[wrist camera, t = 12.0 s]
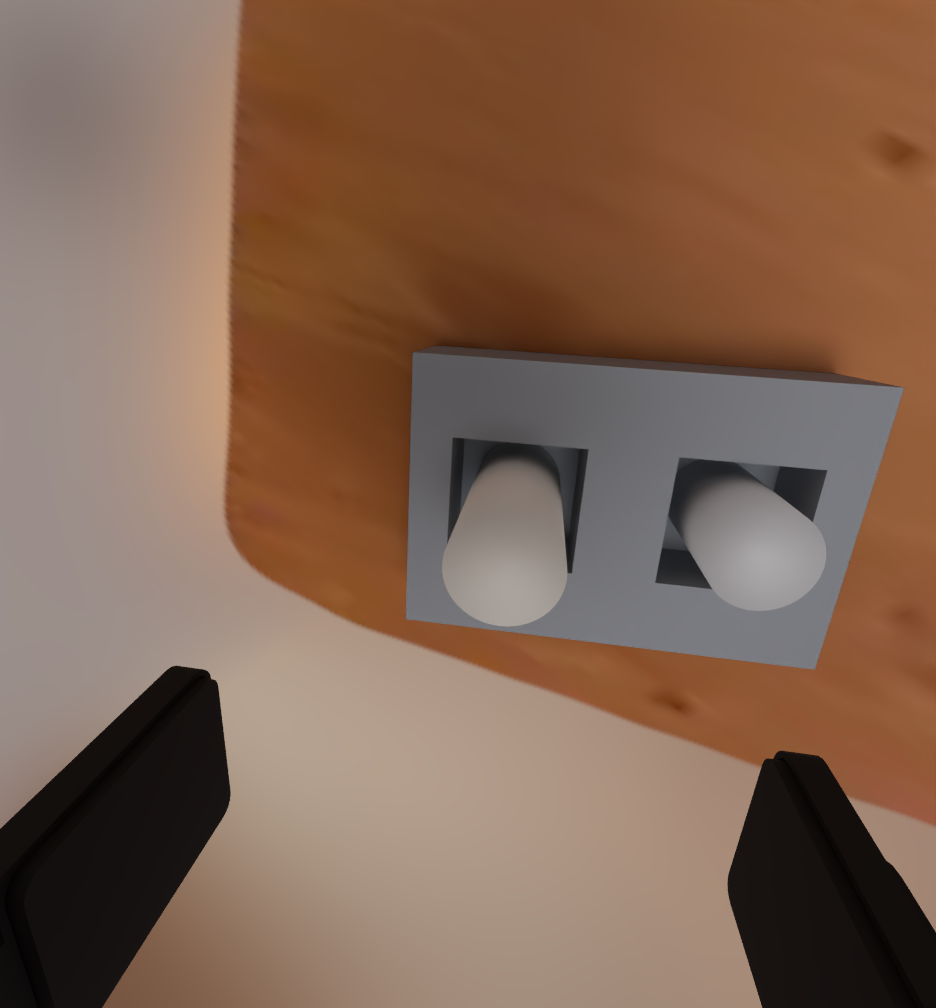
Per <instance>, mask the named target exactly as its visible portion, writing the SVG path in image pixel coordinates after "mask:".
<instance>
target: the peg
mask: <svg viewBox="0 0 936 1008" xmlns="http://www.w3.org/2000/svg"><path fill="white" fill-rule="evenodd" d="M442 575H443V580H444V583H445V586H446V589H447V591H448V593H449V595H450V596H451V598H452V599H453V601H454V602H455V603H456V604H457V605H458V606H459V607H460V608H461V609H462V610H463V611H464V612H466V613H467V614H468V615H470V616H471V617H473V618H475V619H477V620H479V621H481V622H484V623H487V624H491V625H496V626H505V627H508V626H519V625H524V624H527V623H530V622H533V621H535V620H537V619H539V618H541V617H542V616H544V615H545V614H547V613H548V612H549V611H550V610H551V609H552V608H553V607H554V606H555V605H556V604H557V602H558V601H559V600H560V598H561V596H562V594H563V592H564V589H565V586H566V582H567V560H566V547H565V535H564V523H563V510H562V498H561V486H560V474H559V470H558V467H557V464H556V462H555V461H554V459H553V458H552V456H551V455H550V454H549V453H548V452H547V451H546V450H545V449H543V448H542V447H540V446H539V445H533V444H522V443H511V442H505V443H503V444H500V445H499V446H497V447H495V448H494V449H492V450H491V451H490V452H489V453H488V454H487V455H486V457H485V458H484V459H483V461H482V463H481V465H480V468H479V470H478V472H477V475H476V477H475V480H474V482H473V484H472V487H471V489H470V491H469V494H468V496H467V499H466V501H465V503H464V506H463V508H462V510H461V513H460V515H459V518H458V520H457V522H456V525H455V527H454V529H453V532H452V534H451V537H450V539H449V541H448V544H447V546H446V548H445V551H444V555H443V560H442Z"/></svg>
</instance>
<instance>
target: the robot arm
mask: <svg viewBox="0 0 936 1008" xmlns="http://www.w3.org/2000/svg"><path fill="white" fill-rule="evenodd" d="M229 801H230V784H229V775H228V767H227V759H226V750H225V741H224V733H223V724H222V715H221V707H220V698H219V690H218V684H217V682H216V681H215V680H212V679H211V678H210V674H209V672H208V671H206V670H203V669H195V668H188V667H181V666H173V667H171V668H169V669H168V670H167V671H166V672H164V673H163V674H162V675H161V677H159V678H158V679H157V680H156V681H155V682H154V683H153V684H152V685H151V686H150V687H149V688H148V689H147V690H146V691H145V692H143V694H142V695H140V696H139V697H138V698H137V699H136V700H135V701H134V702H133V703H132V704H131V705H130V706H129V707H128V708H127V709H126V710H125V711H124V712H122V714H120V715H119V716H118V717H117V718H116V719H115V720H114V721H113V722H112V723H111V724H110V725H109V726H108V727H107V728H106V729H105V730H104V731H103V732H102V733H100V734H99V735H98V736H97V737H96V738H95V739H94V740H93V741H92V742H91V743H90V744H89V745H88V746H87V747H86V748H85V749H84V750H83V751H82V752H80V753H79V754H78V755H77V757H75V758H74V759H73V760H72V761H71V762H70V763H69V764H68V765H67V766H66V767H65V768H64V769H63V770H62V771H61V772H60V773H58V774H57V775H56V776H55V777H54V778H53V779H52V780H51V781H50V782H49V783H48V784H47V785H46V786H45V787H44V788H43V789H42V790H41V791H40V792H39V793H38V794H37V795H35V796H34V797H33V798H32V799H31V800H30V801H29V802H28V803H27V804H26V805H25V806H24V807H23V808H22V809H21V810H20V811H19V812H18V813H16V814H15V815H14V816H13V817H12V818H11V819H10V820H9V821H8V822H7V823H6V824H5V825H4V826H3V827H2V828H1V829H0V1008H102V1007H103V1005H104V1004H105V1002H106V1000H107V999H108V997H109V996H110V994H111V993H112V991H113V990H114V988H115V986H116V985H117V983H118V982H119V980H120V978H121V977H122V975H123V974H124V972H125V971H126V969H127V968H128V966H129V964H130V963H131V961H132V960H133V958H134V957H135V955H136V953H137V952H138V950H139V949H140V947H141V946H142V944H143V942H144V941H145V939H146V938H147V936H148V934H149V933H150V931H151V930H152V928H153V927H154V925H155V923H156V922H157V920H158V918H159V917H160V916H161V914H162V912H163V911H164V909H165V908H166V906H167V905H168V903H169V902H170V900H171V898H172V897H173V895H174V894H175V892H176V891H177V889H178V887H179V886H180V884H181V883H182V881H183V879H184V878H185V876H186V875H187V873H188V872H189V870H190V869H191V867H192V865H193V864H194V862H195V861H196V859H197V858H198V856H199V854H200V853H201V851H202V850H203V848H204V847H205V845H206V843H207V842H208V840H209V839H210V837H211V835H212V834H213V832H214V831H215V829H216V828H217V826H218V825H219V823H220V821H221V820H222V818H223V816H224V815H225V813H226V811H227V808H228V805H229ZM728 894H729V899H730V904H731V907H732V910H733V913H734V917H735V920H736V923H737V926H738V930H739V933H740V936H741V939H742V943H743V946H744V949H745V953H746V955H747V958H748V962H749V966H750V969H751V972H752V975H753V979H754V982H755V985H756V988H757V992H758V995H759V998H760V1001H761V1005H762V1008H936V932H935V930H934V929H933V927H932V926H931V924H930V922H929V921H928V919H927V918H926V916H925V914H924V913H923V911H922V910H921V908H920V906H919V905H918V903H917V901H916V900H915V898H914V897H913V895H912V893H911V892H910V890H909V889H908V887H907V885H906V884H905V882H904V881H903V879H902V877H901V876H900V875H899V873H898V872H897V871H896V869H895V868H894V867H893V866H892V865H891V864H890V863H888V862H887V861H886V860H885V858H884V857H883V855H882V854H881V852H880V850H879V849H878V847H877V845H876V844H875V842H874V841H873V839H872V837H871V836H870V834H869V832H868V831H867V829H866V828H865V826H864V824H863V823H862V821H861V819H860V818H859V816H858V814H857V813H856V811H855V810H854V808H853V806H852V805H851V803H850V801H849V800H848V798H847V796H846V795H845V793H844V791H843V790H842V788H841V787H840V785H839V783H838V782H837V780H836V778H835V777H834V775H833V774H832V772H831V770H830V769H829V767H828V765H827V764H826V763H825V761H824V760H823V759H822V758H821V757H819V756H815V755H808V754H801V753H794V752H787V751H779V752H777V753H776V755H775V757H774V759H766V760H765V761H764V762H763V764H762V768H761V771H760V774H759V777H758V781H757V784H756V787H755V791H754V794H753V797H752V800H751V804H750V807H749V810H748V813H747V816H746V820H745V823H744V826H743V829H742V833H741V836H740V839H739V842H738V845H737V849H736V852H735V855H734V858H733V862H732V865H731V868H730V871H729V875H728Z"/></svg>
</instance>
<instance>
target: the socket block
mask: <svg viewBox="0 0 936 1008" xmlns="http://www.w3.org/2000/svg"><path fill="white" fill-rule="evenodd" d="M903 390H904V388H903V387H898V386H894V385H889V384H884V383H879V382H874V381H869V380H864V379H859V378H854V377H850V376H845V375H840V374H834V373H819V372H805V371H791V370H777V369H763V368H748V367H734V366H720V365H706V364H692V363H677V362H663V361H649V360H635V359H621V358H606V357H592V356H578V355H564V354H550V353H535V352H521V351H507V350H493V349H479V348H464V347H450V346H433V347H429V348H426V349H422V350H419V351H415V352H413V360H412V399H411V438H410V478H409V517H408V556H407V595H406V619H410V620H418V621H426V622H434V623H442V624H450V625H458V626H466V627H474V628H482V629H490V630H499V631H507V632H515V633H523V634H531V635H539V636H547V637H555V638H563V639H571V640H580V641H588V642H596V643H604V644H612V645H620V646H628V647H636V648H644V649H652V650H660V651H669V652H677V653H685V654H693V655H701V656H709V657H717V658H725V659H733V660H741V661H749V662H758V663H766V664H774V665H782V666H790V667H798V668H806V669H814V670H815V667H816V664H817V661H818V658H819V655H820V651H821V648H822V645H823V642H824V639H825V636H826V633H827V629H828V626H829V623H830V620H831V617H832V614H833V610H834V607H835V604H836V601H837V598H838V595H839V592H840V588H841V585H842V582H843V579H844V576H845V573H846V570H847V566H848V563H849V560H850V557H851V554H852V551H853V547H854V544H855V541H856V538H857V535H858V532H859V529H860V525H861V522H862V519H863V516H864V513H865V510H866V506H867V503H868V500H869V497H870V494H871V491H872V488H873V484H874V481H875V478H876V475H877V472H878V469H879V466H880V462H881V459H882V456H883V453H884V450H885V447H886V443H887V440H888V437H889V434H890V431H891V428H892V425H893V421H894V418H895V415H896V412H897V409H898V406H899V402H900V399H901V396H902V393H903ZM505 442H511V443H522V444H533V445H539V446H540V447H542V448H543V449H545V450H546V451H547V452H548V453H549V454H550V455H551V456H552V458H553V459H554V461H555V462H556V464H557V467H558V470H559V474H560V486H561V498H562V510H563V523H564V535H565V547H566V560H567V582H566V586H565V589H564V592H563V594H562V596H561V598H560V600H559V601H558V602H557V604H556V605H555V606H554V607H553V608H552V609H551V610H550V611H549V612H548V613H547V614H545V615H544V616H542V617H541V618H539V619H537V620H535V621H533V622H530V623H527V624H524V625H519V626H508V627H505V626H496V625H491V624H487V623H484V622H481V621H479V620H477V619H475V618H473V617H471V616H470V615H468V614H467V613H466V612H464V611H463V610H462V609H461V608H460V607H459V606H458V605H457V604H456V603H455V602H454V601H453V599H452V598H451V596H450V595H449V593H448V591H447V589H446V586H445V583H444V580H443V575H442V560H443V555H444V551H445V548H446V546H447V544H448V541H449V539H450V537H451V534H452V532H453V529H454V527H455V525H456V522H457V520H458V518H459V515H460V513H461V510H462V508H463V506H464V503H465V501H466V499H467V496H468V494H469V491H470V489H471V487H472V484H473V482H474V480H475V477H476V475H477V472H478V470H479V468H480V465H481V463H482V461H483V459H484V458H485V457H486V455H487V454H488V453H489V452H490V451H491V450H492V449H494V448H495V447H497V446H499V445H500V444H503V443H505Z"/></svg>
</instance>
